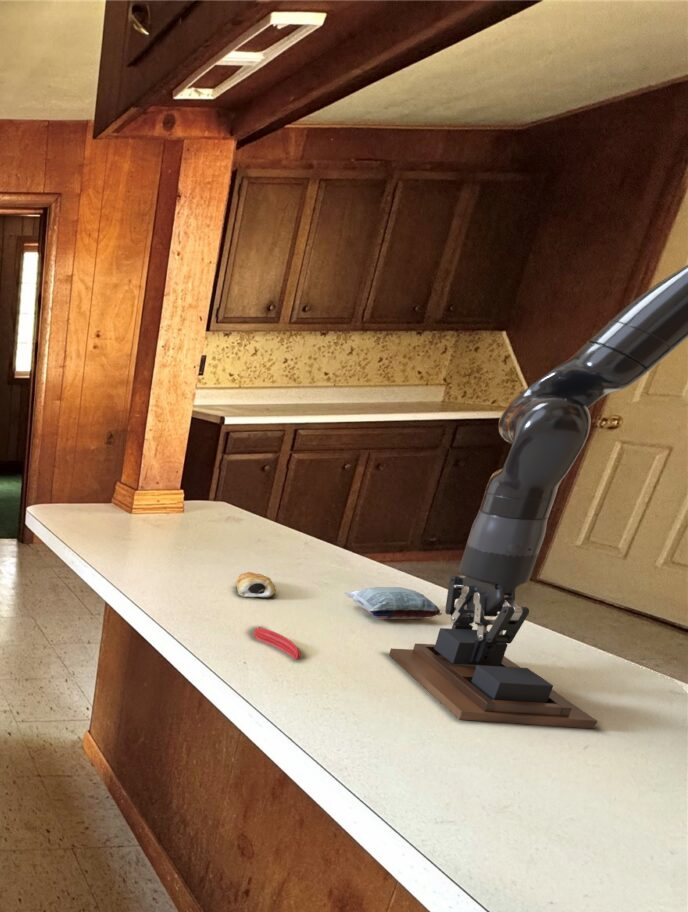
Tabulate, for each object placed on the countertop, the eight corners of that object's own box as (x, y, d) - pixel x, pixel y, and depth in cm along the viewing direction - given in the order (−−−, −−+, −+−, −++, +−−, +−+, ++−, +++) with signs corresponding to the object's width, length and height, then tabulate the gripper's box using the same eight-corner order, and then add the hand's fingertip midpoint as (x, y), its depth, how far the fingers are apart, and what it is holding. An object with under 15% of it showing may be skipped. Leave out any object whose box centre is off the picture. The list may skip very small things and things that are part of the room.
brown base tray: (498, 660, 101) (504, 646, 100) (594, 728, 84) (601, 712, 83) (388, 655, 104) (392, 640, 103) (459, 719, 87) (464, 703, 86)
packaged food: (341, 604, 123) (347, 580, 121) (410, 605, 122) (417, 580, 120) (367, 624, 115) (374, 598, 113) (441, 625, 114) (449, 599, 112)
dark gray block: (479, 650, 99) (486, 629, 98) (500, 666, 95) (508, 644, 93) (433, 648, 100) (439, 627, 99) (452, 663, 96) (459, 642, 95)
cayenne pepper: (246, 628, 115) (248, 618, 115) (275, 628, 115) (277, 618, 114) (274, 659, 104) (277, 648, 104) (306, 660, 104) (308, 649, 103)
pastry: (231, 581, 136) (234, 563, 135) (267, 584, 134) (271, 566, 133) (237, 597, 128) (241, 578, 127) (276, 600, 126) (280, 582, 125)
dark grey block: (519, 690, 91) (527, 667, 90) (544, 709, 86) (553, 685, 85) (469, 687, 92) (476, 665, 91) (491, 705, 88) (499, 682, 86)
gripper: (573, 562, 84) (529, 680, 90) (500, 531, 97) (467, 636, 103) (504, 560, 85) (466, 676, 92) (442, 530, 98) (412, 633, 105)
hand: (467, 654), depth 97 cm, fingers closed on dark gray block, 5 cm apart
